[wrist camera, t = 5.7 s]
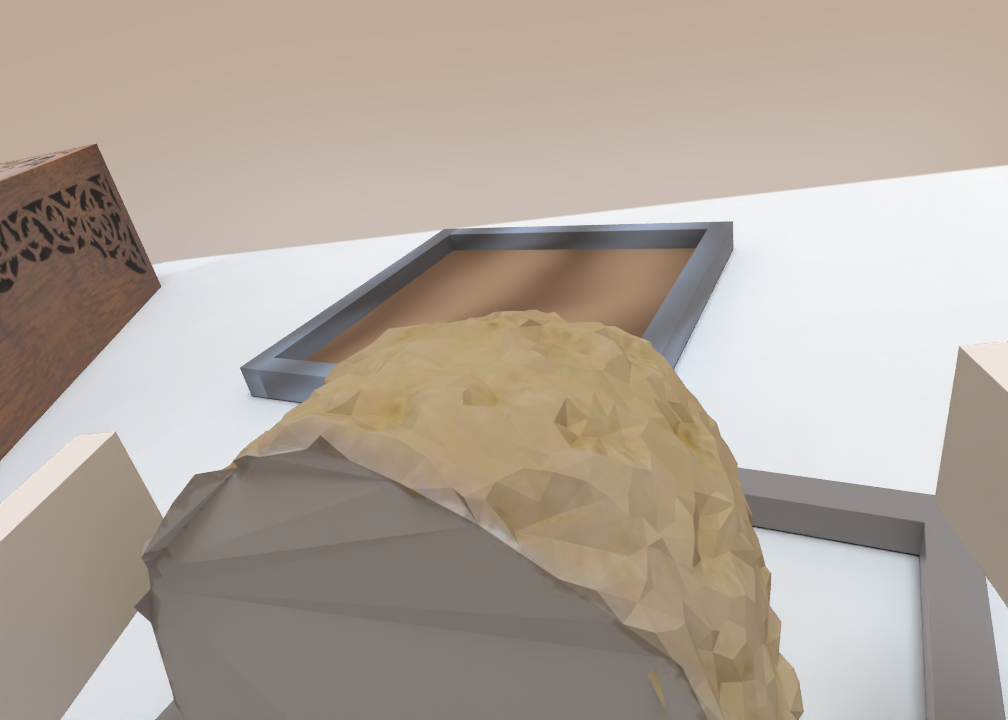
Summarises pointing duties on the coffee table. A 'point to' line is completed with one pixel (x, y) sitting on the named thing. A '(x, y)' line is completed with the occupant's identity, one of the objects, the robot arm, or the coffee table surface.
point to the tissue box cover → (61, 278)
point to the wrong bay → (943, 571)
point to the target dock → (514, 291)
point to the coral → (474, 544)
